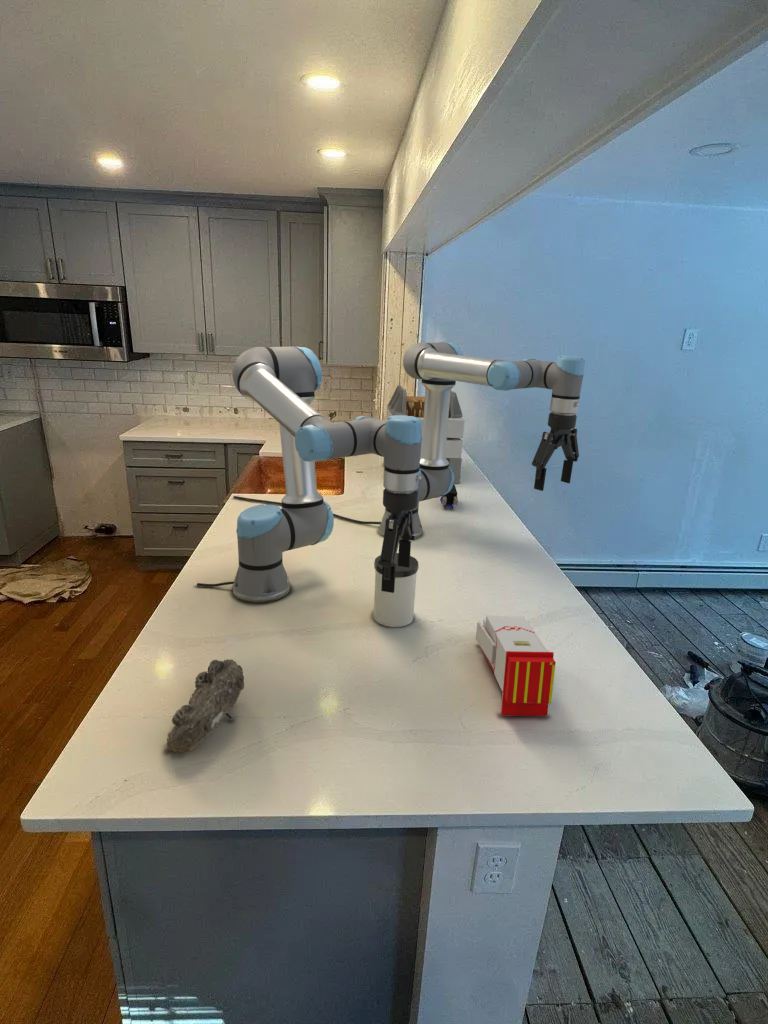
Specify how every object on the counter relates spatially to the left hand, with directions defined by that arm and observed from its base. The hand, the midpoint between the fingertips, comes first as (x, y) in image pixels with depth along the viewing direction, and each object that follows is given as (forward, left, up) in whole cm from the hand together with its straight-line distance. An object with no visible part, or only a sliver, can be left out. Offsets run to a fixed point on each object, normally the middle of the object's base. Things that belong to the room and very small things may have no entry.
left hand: (396, 578), depth 129 cm
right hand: (+31, +54, +11) cm, 63 cm away
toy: (+27, -3, -17) cm, 32 cm away
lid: (-3, +12, -2) cm, 13 cm away
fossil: (-25, -37, -17) cm, 48 cm away
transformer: (-31, +147, -17) cm, 151 cm away
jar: (-3, +12, -17) cm, 21 cm away
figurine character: (-8, +105, -17) cm, 107 cm away
